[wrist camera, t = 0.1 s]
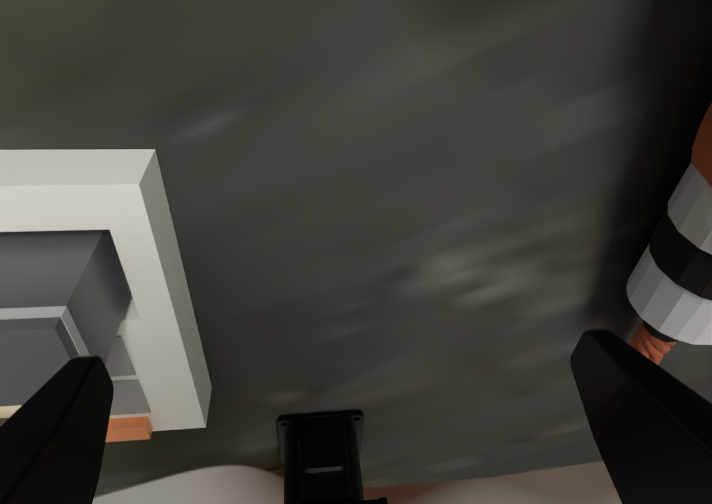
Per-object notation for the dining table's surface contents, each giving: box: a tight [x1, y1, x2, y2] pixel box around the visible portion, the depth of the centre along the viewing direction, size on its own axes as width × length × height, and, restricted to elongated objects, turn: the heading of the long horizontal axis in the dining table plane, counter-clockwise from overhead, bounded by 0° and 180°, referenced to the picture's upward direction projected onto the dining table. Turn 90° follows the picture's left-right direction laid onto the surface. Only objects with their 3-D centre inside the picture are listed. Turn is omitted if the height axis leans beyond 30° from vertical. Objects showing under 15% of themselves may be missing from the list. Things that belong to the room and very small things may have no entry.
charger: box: [0, 230, 131, 407], centre depth 20 cm, size 4×4×7 cm
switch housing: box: [0, 149, 212, 442], centre depth 25 cm, size 18×9×4 cm, turn 177°
